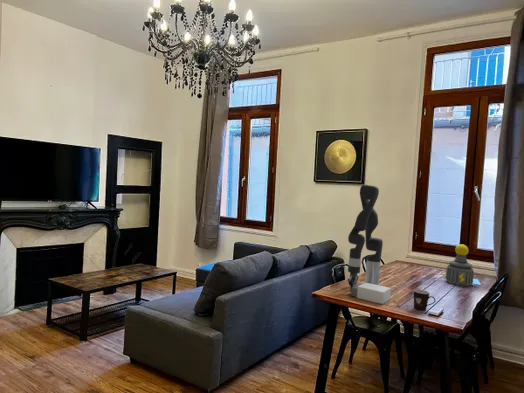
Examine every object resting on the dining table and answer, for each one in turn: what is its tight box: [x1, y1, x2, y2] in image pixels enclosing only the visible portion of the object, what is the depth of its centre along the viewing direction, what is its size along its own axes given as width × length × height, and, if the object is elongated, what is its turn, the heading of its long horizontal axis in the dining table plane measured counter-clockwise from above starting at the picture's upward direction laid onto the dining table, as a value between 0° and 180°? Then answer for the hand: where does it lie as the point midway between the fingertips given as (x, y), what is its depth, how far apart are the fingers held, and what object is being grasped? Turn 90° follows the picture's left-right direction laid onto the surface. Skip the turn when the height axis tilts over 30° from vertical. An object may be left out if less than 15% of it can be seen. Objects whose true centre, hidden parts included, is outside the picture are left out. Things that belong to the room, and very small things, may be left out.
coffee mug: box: [413, 289, 436, 312], centre depth 219 cm, size 12×9×10 cm
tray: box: [350, 283, 363, 298], centre depth 236 cm, size 14×18×5 cm
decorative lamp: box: [445, 243, 475, 287], centre depth 293 cm, size 19×19×30 cm
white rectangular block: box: [356, 282, 392, 305], centre depth 234 cm, size 14×16×7 cm
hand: (352, 291), depth 242 cm, fingers closed
